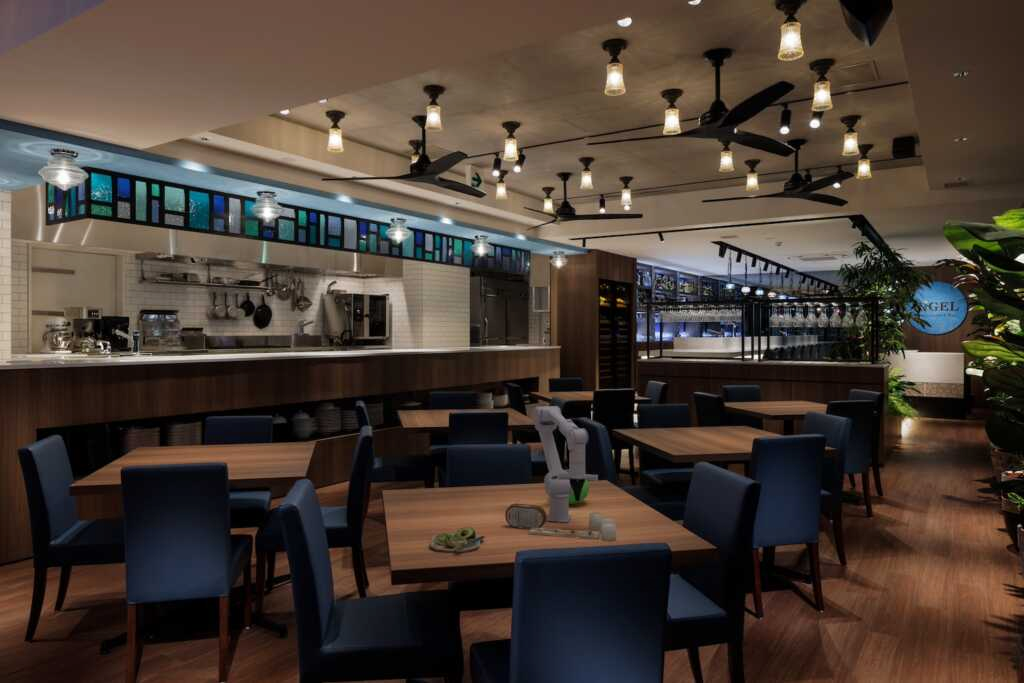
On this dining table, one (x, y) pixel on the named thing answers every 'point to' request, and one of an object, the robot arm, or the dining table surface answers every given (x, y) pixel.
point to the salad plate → (457, 541)
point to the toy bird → (583, 492)
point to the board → (565, 533)
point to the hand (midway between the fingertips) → (577, 500)
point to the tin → (525, 516)
